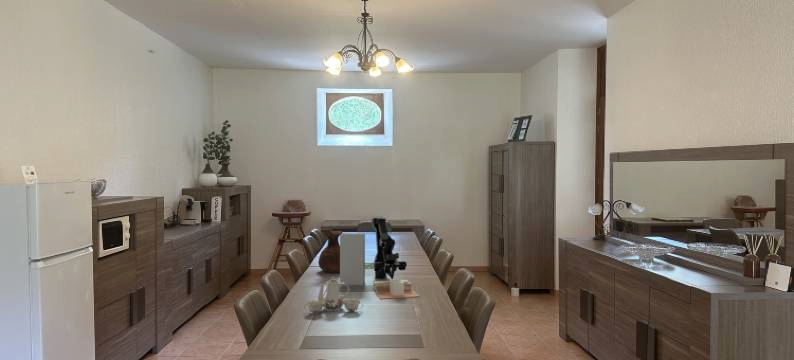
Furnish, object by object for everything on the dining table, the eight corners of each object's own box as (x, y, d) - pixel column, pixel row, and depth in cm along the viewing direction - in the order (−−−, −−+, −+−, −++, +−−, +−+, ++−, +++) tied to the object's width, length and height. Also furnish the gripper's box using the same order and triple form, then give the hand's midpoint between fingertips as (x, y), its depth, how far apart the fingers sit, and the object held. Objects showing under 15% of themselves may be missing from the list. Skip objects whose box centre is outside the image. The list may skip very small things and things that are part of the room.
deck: (373, 288, 294) (373, 281, 293) (406, 286, 298) (406, 279, 298) (376, 292, 283) (377, 285, 283) (411, 290, 288) (411, 283, 288)
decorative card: (401, 253, 369) (403, 258, 349) (401, 263, 370) (403, 269, 350) (357, 253, 368) (356, 258, 348) (357, 264, 368) (356, 269, 348)
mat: (375, 293, 282) (375, 292, 282) (413, 291, 287) (413, 290, 287) (380, 299, 270) (380, 298, 270) (419, 296, 275) (419, 296, 275)
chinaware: (306, 320, 237) (306, 286, 235) (302, 307, 253) (303, 275, 251) (364, 316, 244) (365, 283, 242) (357, 303, 260) (358, 272, 258)
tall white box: (364, 282, 307) (365, 233, 306) (363, 285, 301) (363, 235, 300) (341, 282, 308) (342, 233, 307) (339, 284, 302) (340, 234, 302)
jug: (314, 269, 346) (314, 225, 345) (343, 266, 355) (344, 224, 354) (323, 275, 326) (323, 229, 325) (354, 273, 335) (354, 228, 334)
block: (389, 279, 283) (393, 283, 275) (400, 279, 284) (403, 282, 276) (389, 292, 283) (393, 295, 275) (400, 291, 284) (403, 295, 276)
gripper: (375, 248, 292) (378, 271, 281) (406, 247, 296) (410, 270, 286) (372, 259, 300) (375, 282, 289) (402, 258, 304) (407, 280, 294)
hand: (392, 278), depth 289 cm, fingers closed
